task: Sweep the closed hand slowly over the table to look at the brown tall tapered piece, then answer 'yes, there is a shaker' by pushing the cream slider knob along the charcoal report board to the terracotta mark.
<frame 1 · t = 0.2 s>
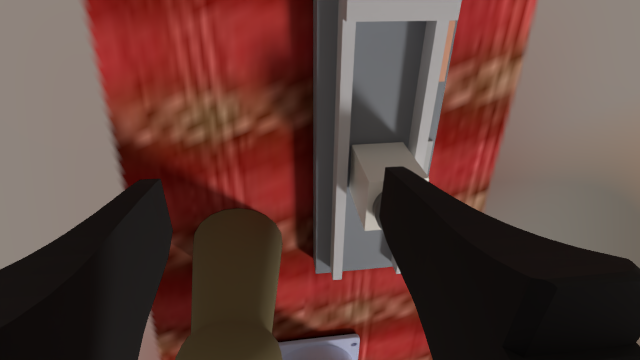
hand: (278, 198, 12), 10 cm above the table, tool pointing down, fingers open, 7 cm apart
brown tall tapered piece: (238, 241, 26), on the table
report board: (369, 146, 23), on the table
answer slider: (386, 188, 20), point 4 cm above the table, slide at 0.0 cm
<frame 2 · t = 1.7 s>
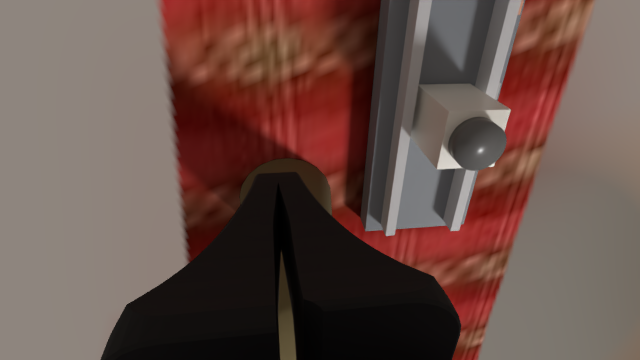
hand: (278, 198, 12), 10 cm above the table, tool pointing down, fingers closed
brown tall tapered piece: (285, 196, 25), on the table
report board: (429, 92, 22), on the table
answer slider: (457, 127, 19), point 4 cm above the table, slide at 0.0 cm
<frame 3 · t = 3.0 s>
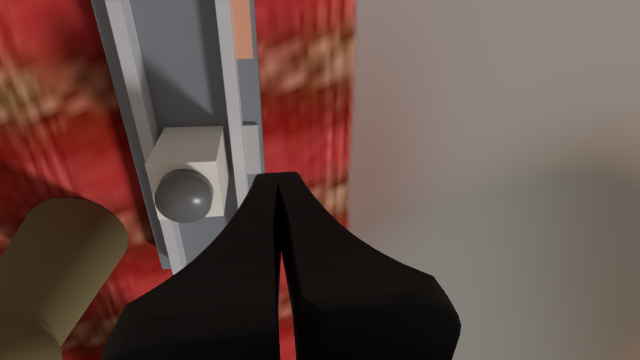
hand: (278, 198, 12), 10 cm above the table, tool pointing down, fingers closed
brown tall tapered piece: (78, 234, 24), on the table
report board: (201, 131, 22), on the table
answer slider: (191, 174, 19), point 4 cm above the table, slide at 0.0 cm
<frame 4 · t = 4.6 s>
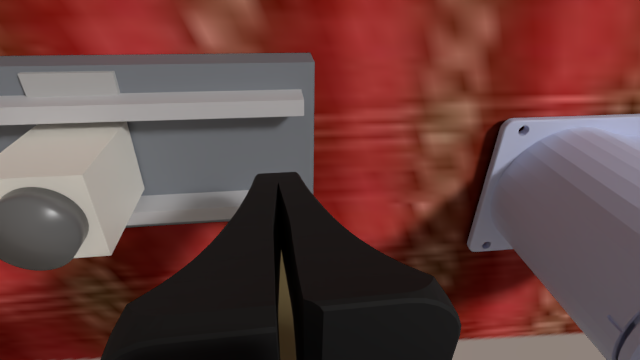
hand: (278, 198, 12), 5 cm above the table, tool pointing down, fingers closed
brown tall tapered piece: (273, 273, 21), on the table
report board: (97, 140, 16), on the table
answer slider: (67, 191, 12), point 4 cm above the table, slide at 0.0 cm
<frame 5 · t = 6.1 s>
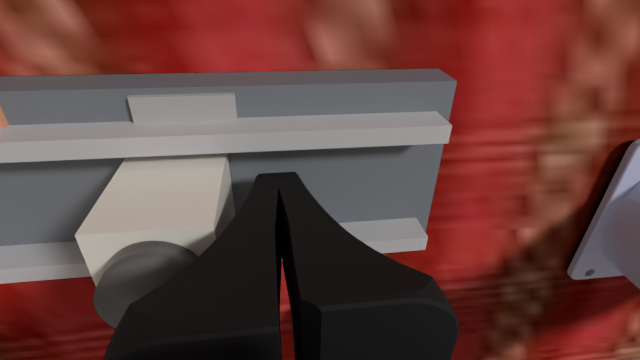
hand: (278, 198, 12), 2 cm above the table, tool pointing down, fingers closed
report board: (191, 167, 14), on the table
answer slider: (172, 236, 11), point 4 cm above the table, slide at 0.4 cm, touching gripper
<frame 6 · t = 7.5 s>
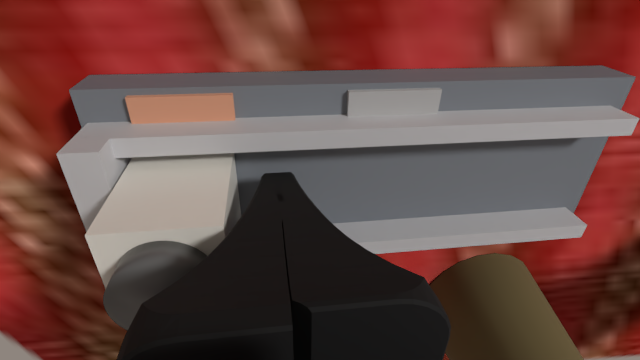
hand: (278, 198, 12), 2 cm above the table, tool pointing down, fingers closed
brown tall tapered piece: (473, 292, 20), on the table
report board: (360, 159, 15), on the table
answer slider: (179, 236, 11), point 4 cm above the table, slide at 6.6 cm, touching gripper
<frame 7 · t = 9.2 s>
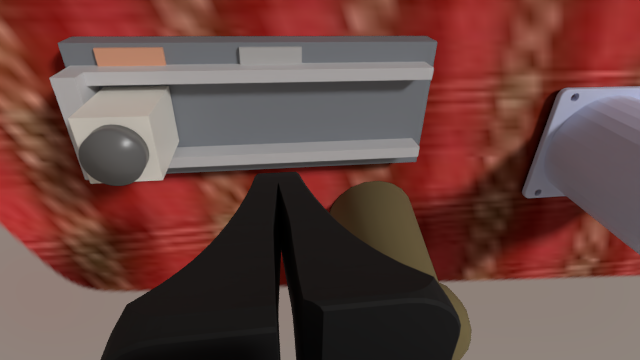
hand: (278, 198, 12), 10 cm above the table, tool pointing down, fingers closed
brown tall tapered piece: (369, 215, 27), on the table
report board: (263, 101, 21), on the table
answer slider: (129, 135, 17), point 4 cm above the table, slide at 6.5 cm
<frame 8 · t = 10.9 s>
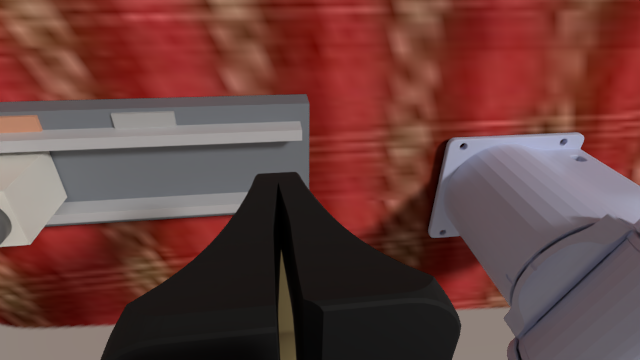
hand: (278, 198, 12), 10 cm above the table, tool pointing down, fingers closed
brown tall tapered piece: (279, 255, 28), on the table
report board: (153, 156, 22), on the table
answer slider: (1, 200, 18), point 4 cm above the table, slide at 6.5 cm
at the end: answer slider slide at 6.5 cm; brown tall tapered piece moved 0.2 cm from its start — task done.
